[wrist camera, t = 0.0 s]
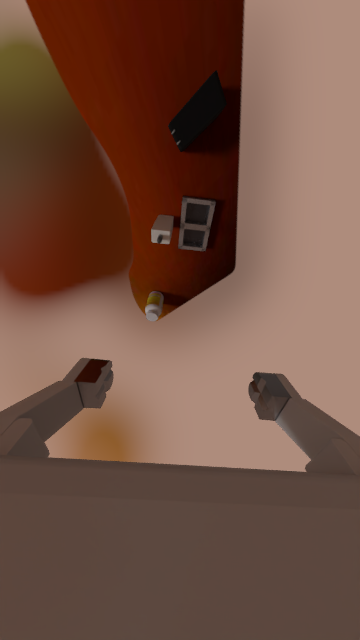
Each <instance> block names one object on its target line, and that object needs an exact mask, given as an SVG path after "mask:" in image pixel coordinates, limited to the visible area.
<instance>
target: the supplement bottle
mask: <svg viewBox="0 0 360 640" xmlns="http://www.w3.org/2000/svg"><path fill="white" fill-rule="evenodd" d="M163 300H164V297H163V295H162V294H161V293H160V292H157V291H154V292H151V293H150V294H149V297H148V301H147V304H146V308H145V312H146V318H147V319H148V320H149V321H156V320H157V319H158V316H160V315H161V312H162V306H163Z"/></svg>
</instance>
